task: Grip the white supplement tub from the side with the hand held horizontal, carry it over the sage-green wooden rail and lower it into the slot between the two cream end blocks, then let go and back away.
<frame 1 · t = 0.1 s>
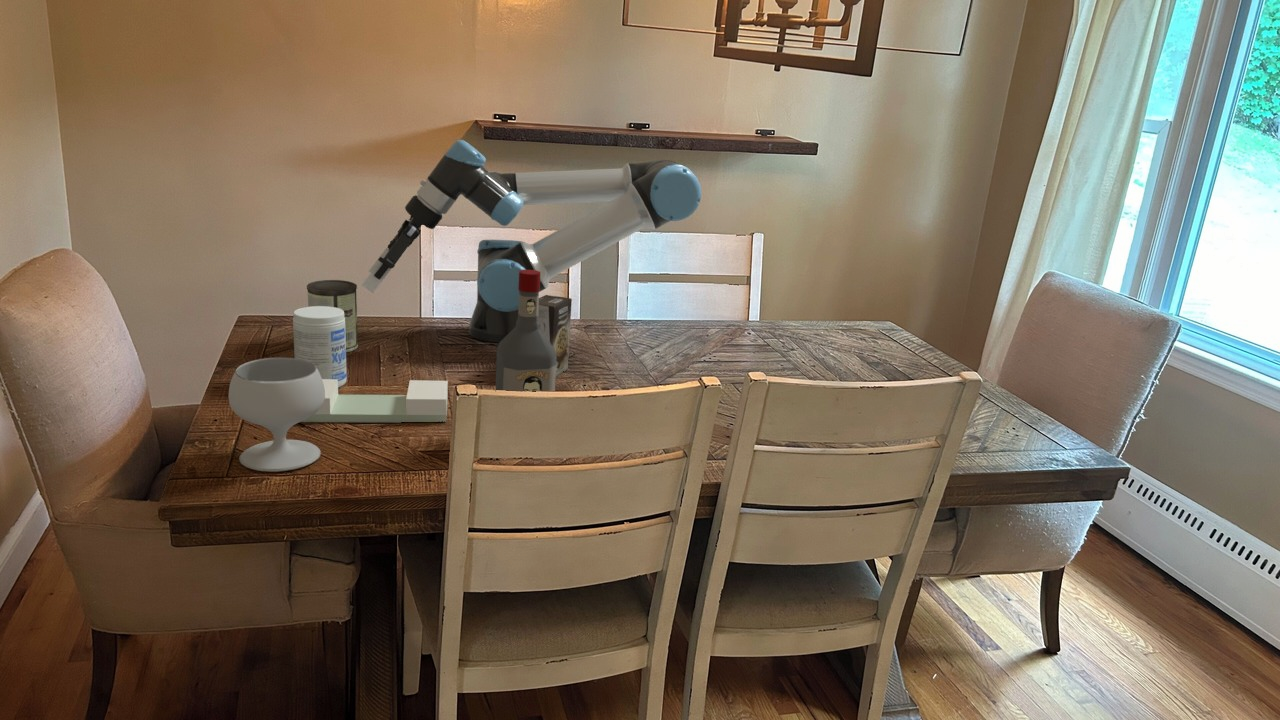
hand: (370, 281, 195), 15 cm above the table, tool tilted 35°, fingers open, 13 cm apart
chalice: (280, 458, 143), on the table
liquor: (523, 439, 158), on the table
rail: (371, 412, 164), on the table
supplement tub: (321, 384, 176), on the table
coffee can: (333, 347, 198), on the table
coffee box: (546, 373, 193), on the table
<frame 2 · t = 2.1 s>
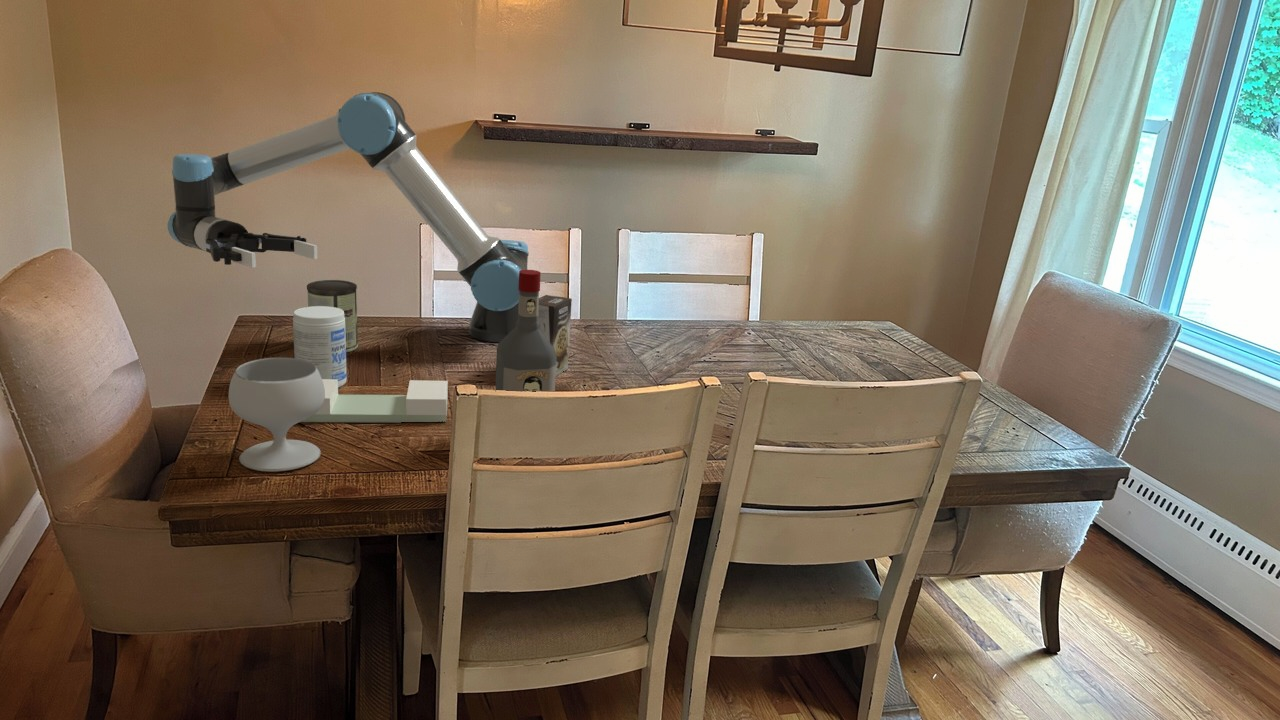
hand: (285, 256, 174), 24 cm above the table, tool horizontal, fingers open, 13 cm apart
nothing on the table moved.
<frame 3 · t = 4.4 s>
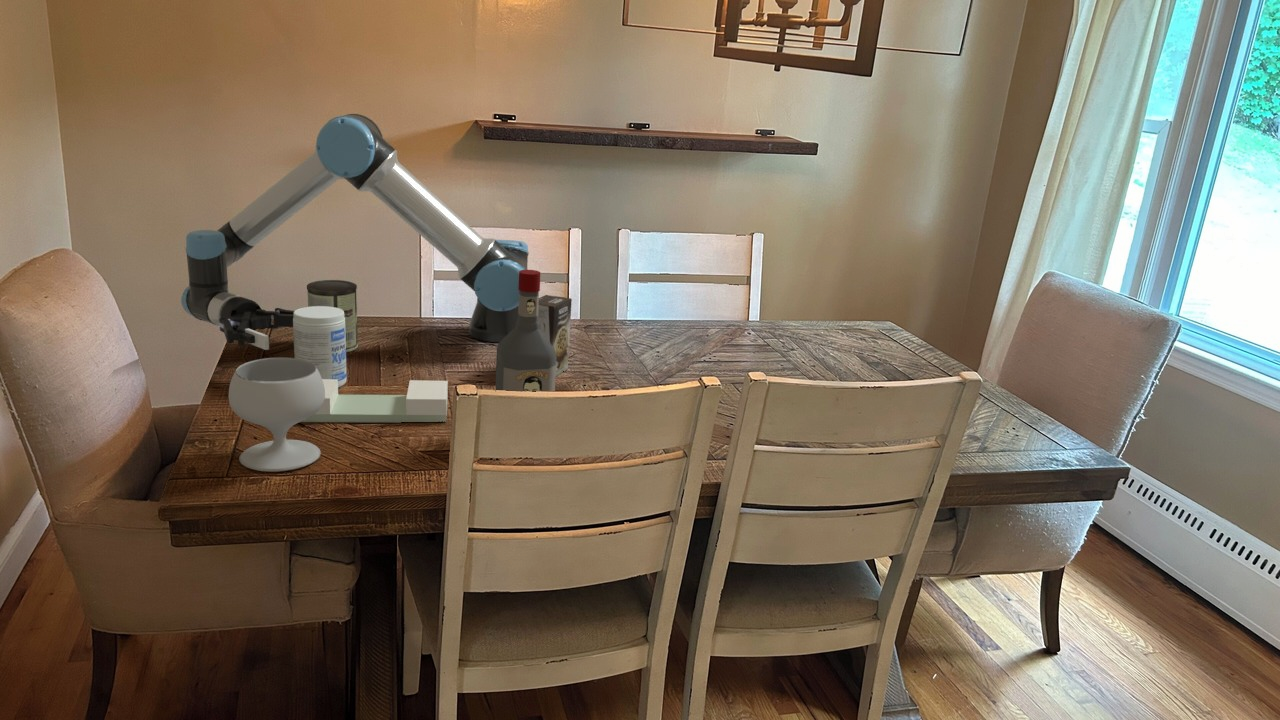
hand: (298, 336, 176), 8 cm above the table, tool horizontal, fingers open, 13 cm apart
nothing on the table moved.
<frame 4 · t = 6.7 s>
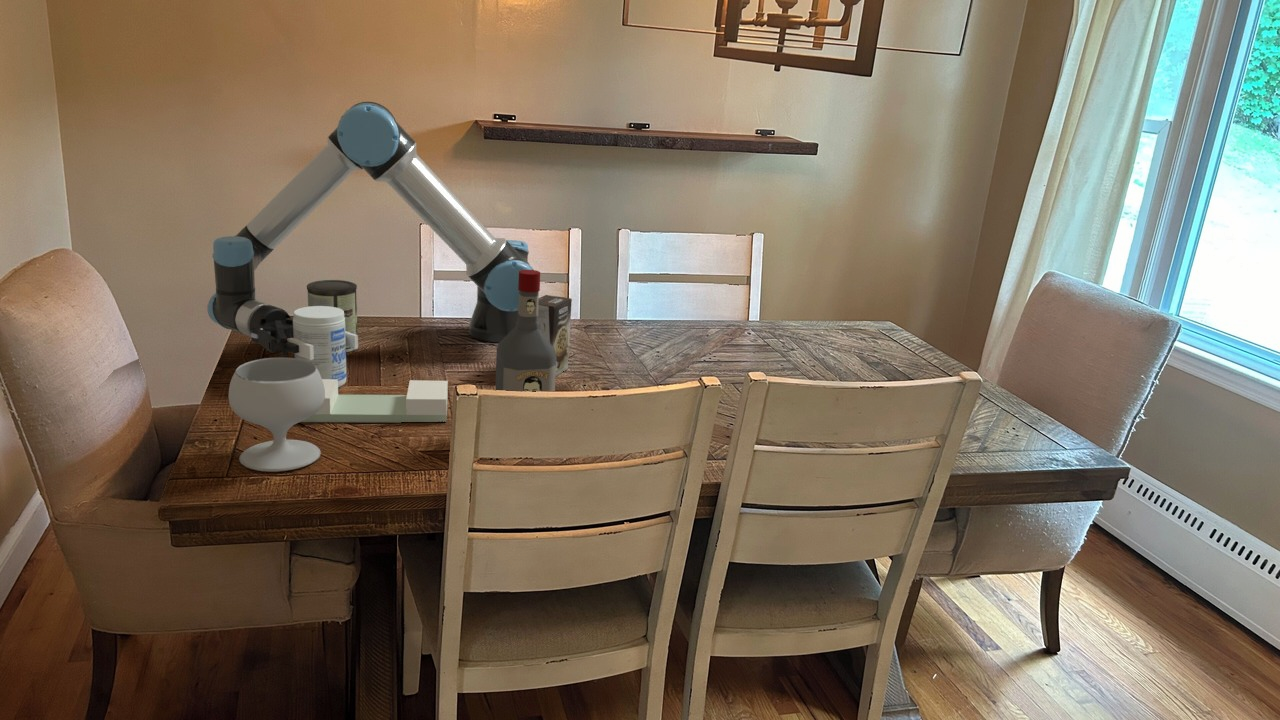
hand: (334, 347, 171), 9 cm above the table, tool horizontal, fingers closed on supplement tub, 9 cm apart
supplement tub: (321, 384, 176), on the table, touching gripper
everything else where it was.
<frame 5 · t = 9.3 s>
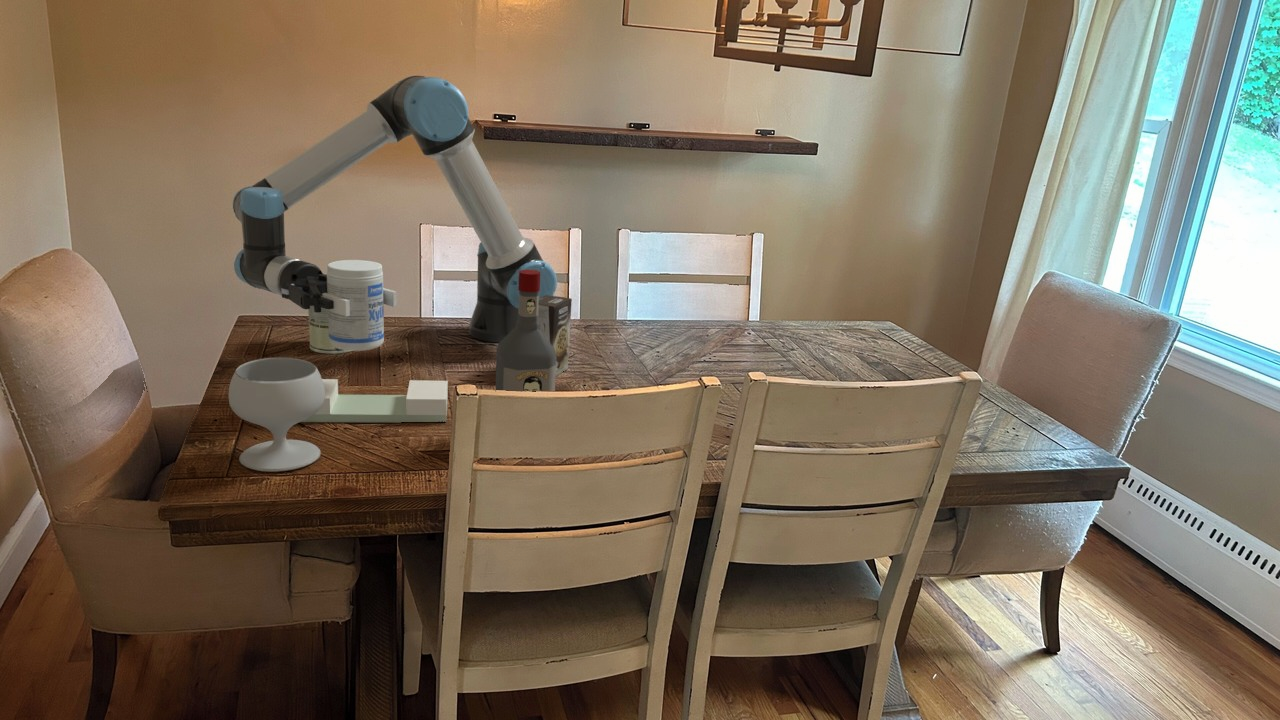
hand: (372, 303, 157), 21 cm above the table, tool horizontal, fingers closed on supplement tub, 9 cm apart
supplement tub: (356, 345, 162), point 12 cm above the table, touching gripper
everything else where it was.
when the fingers open (11 cm above the table, at t = 12.3 s): supplement tub drops 1 cm, resting on rail.
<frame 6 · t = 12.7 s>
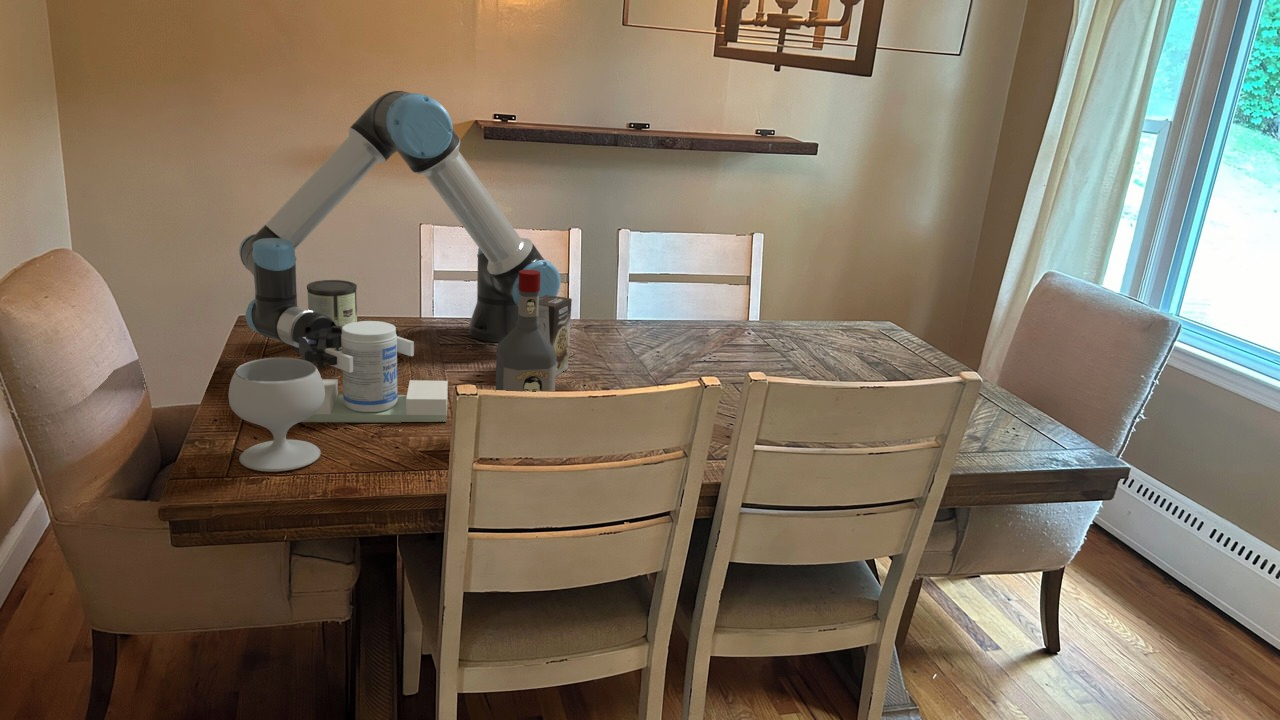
hand: (383, 356, 159), 11 cm above the table, tool horizontal, fingers open, 13 cm apart
supplement tub: (370, 405, 164), point 1 cm above the table, touching rail
everything else where it was.
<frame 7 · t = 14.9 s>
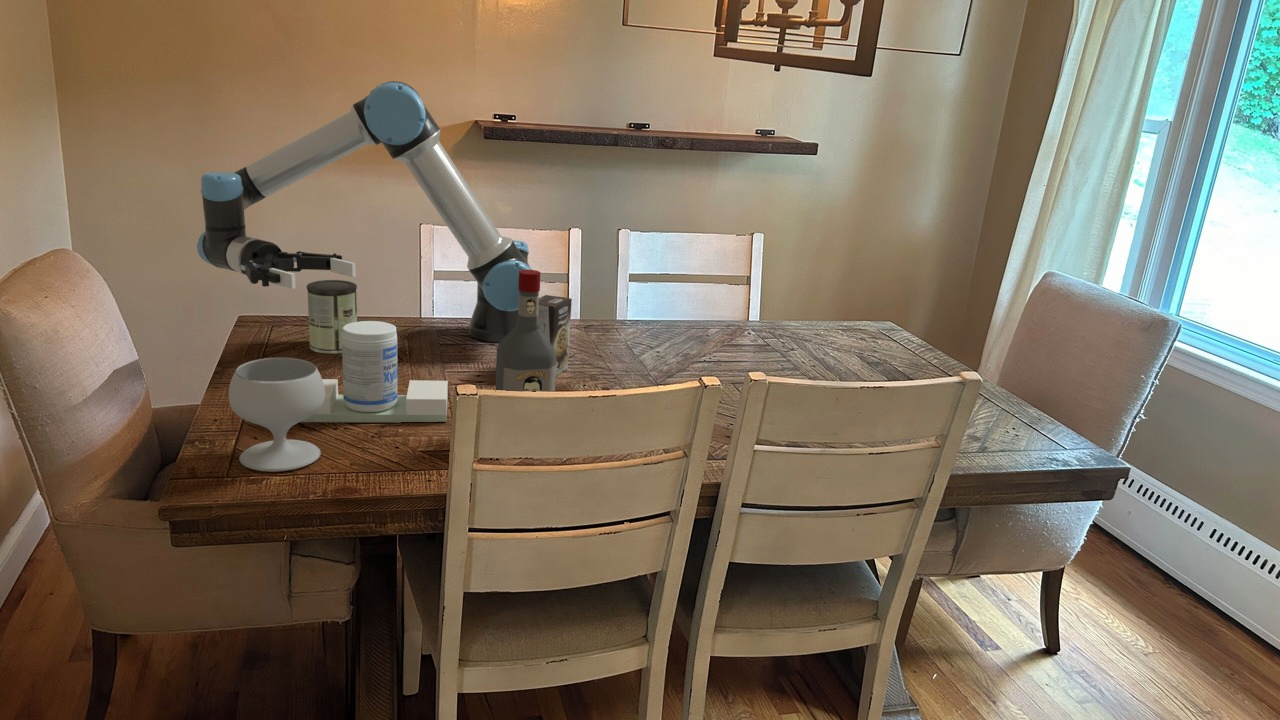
hand: (325, 275, 169), 22 cm above the table, tool horizontal, fingers open, 13 cm apart
nothing on the table moved.
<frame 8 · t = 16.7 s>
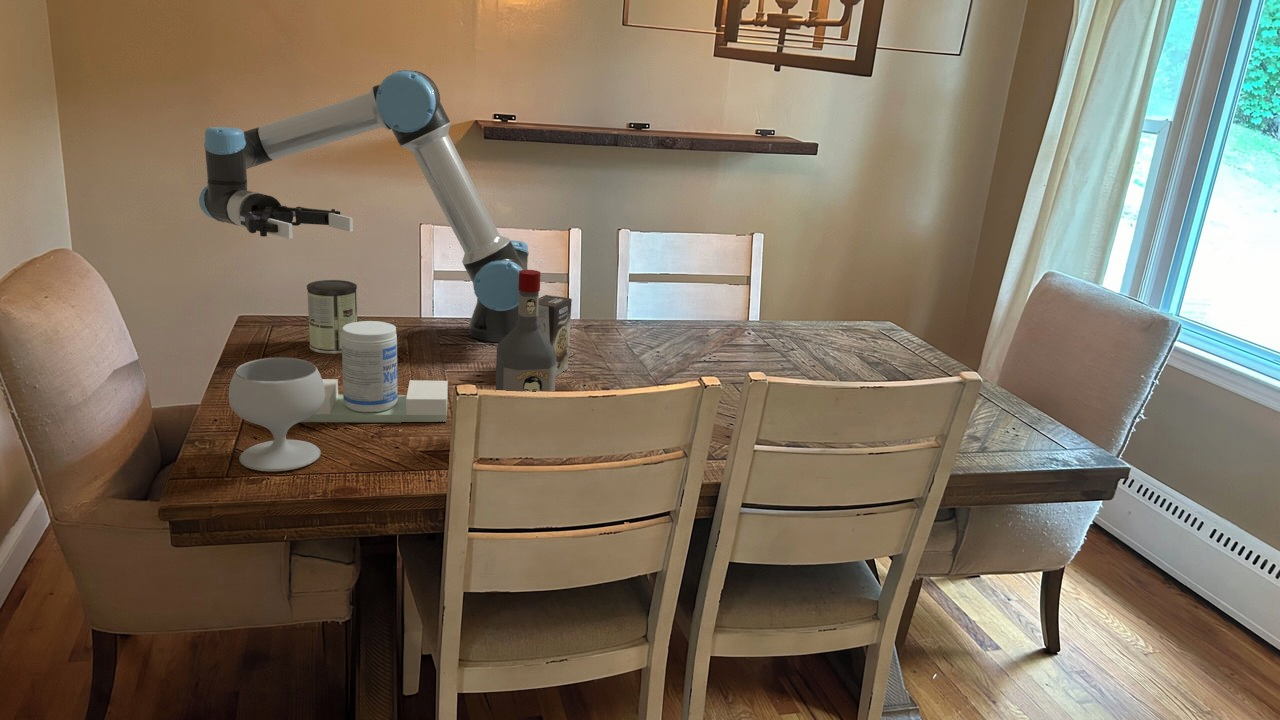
hand: (322, 227, 171), 30 cm above the table, tool horizontal, fingers open, 13 cm apart
nothing on the table moved.
at the end: supplement tub inside the target area on the rail (0.1 cm from its centre), point 1.3 cm above the rail's base; supplement tub tilted 0°; the gripper is holding nothing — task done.
